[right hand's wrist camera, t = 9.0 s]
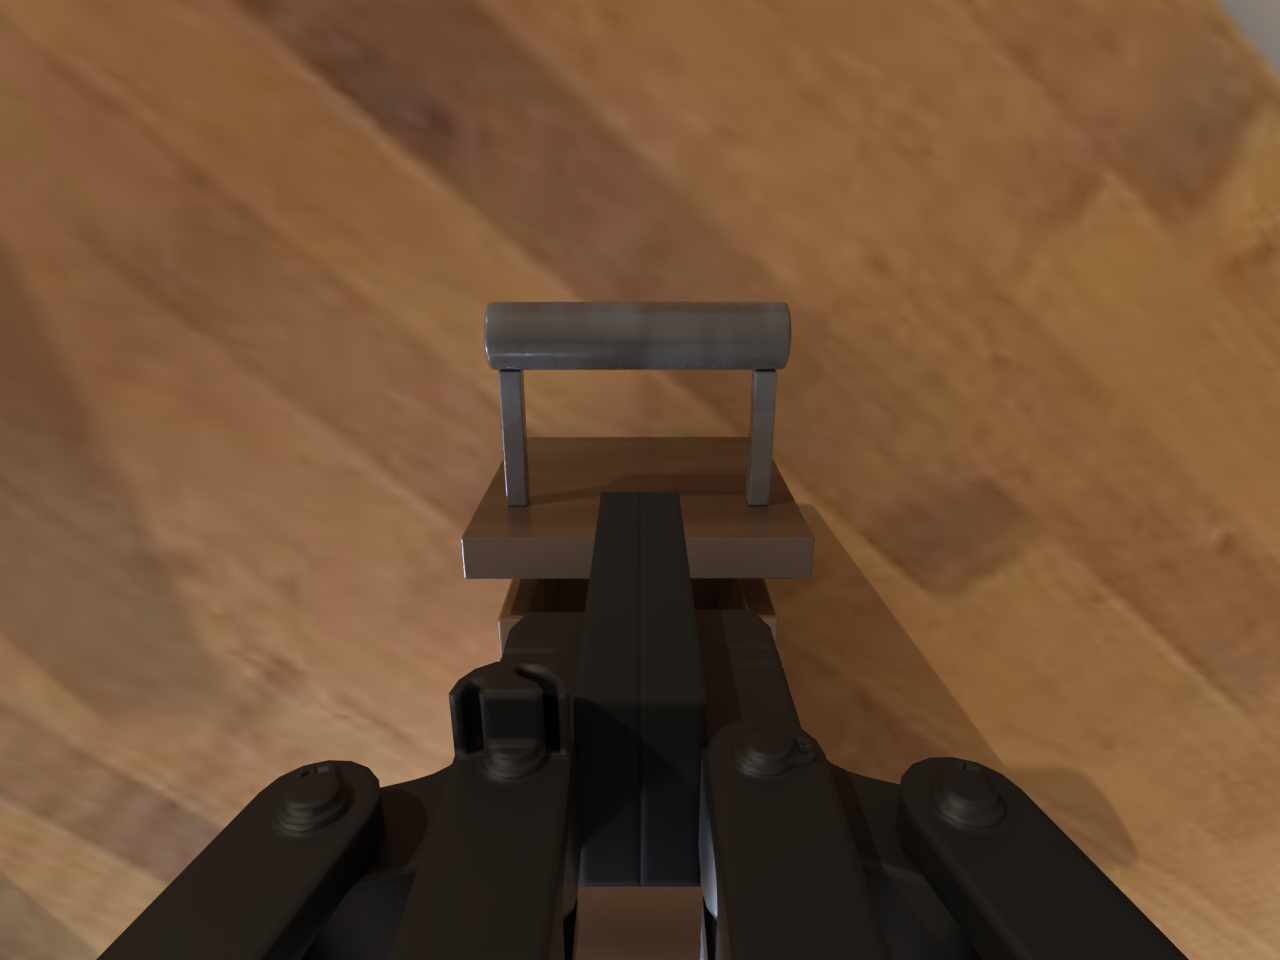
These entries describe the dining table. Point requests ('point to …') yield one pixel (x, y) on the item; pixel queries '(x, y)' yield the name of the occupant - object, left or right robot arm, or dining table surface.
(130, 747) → the dining table surface
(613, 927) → the cabinet
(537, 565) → the drawer
